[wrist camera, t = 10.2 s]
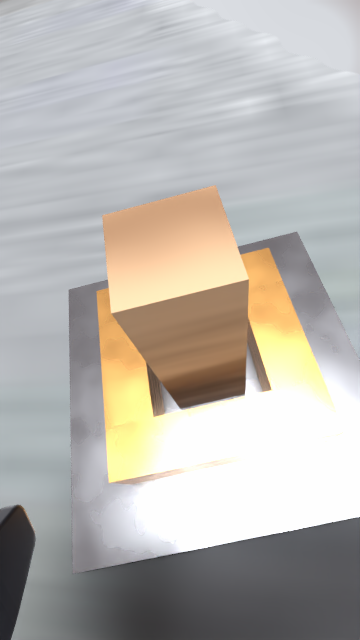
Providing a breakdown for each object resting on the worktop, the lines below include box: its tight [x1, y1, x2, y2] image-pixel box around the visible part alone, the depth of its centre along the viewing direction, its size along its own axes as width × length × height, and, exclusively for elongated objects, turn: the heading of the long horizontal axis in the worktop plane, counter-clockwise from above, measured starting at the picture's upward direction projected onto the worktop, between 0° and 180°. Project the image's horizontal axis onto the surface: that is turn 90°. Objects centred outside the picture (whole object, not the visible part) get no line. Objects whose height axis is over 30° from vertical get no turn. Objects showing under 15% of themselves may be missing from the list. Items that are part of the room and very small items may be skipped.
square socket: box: [69, 232, 360, 574], centre depth 20 cm, size 18×18×5 cm
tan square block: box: [102, 185, 249, 409], centre depth 15 cm, size 4×4×12 cm
